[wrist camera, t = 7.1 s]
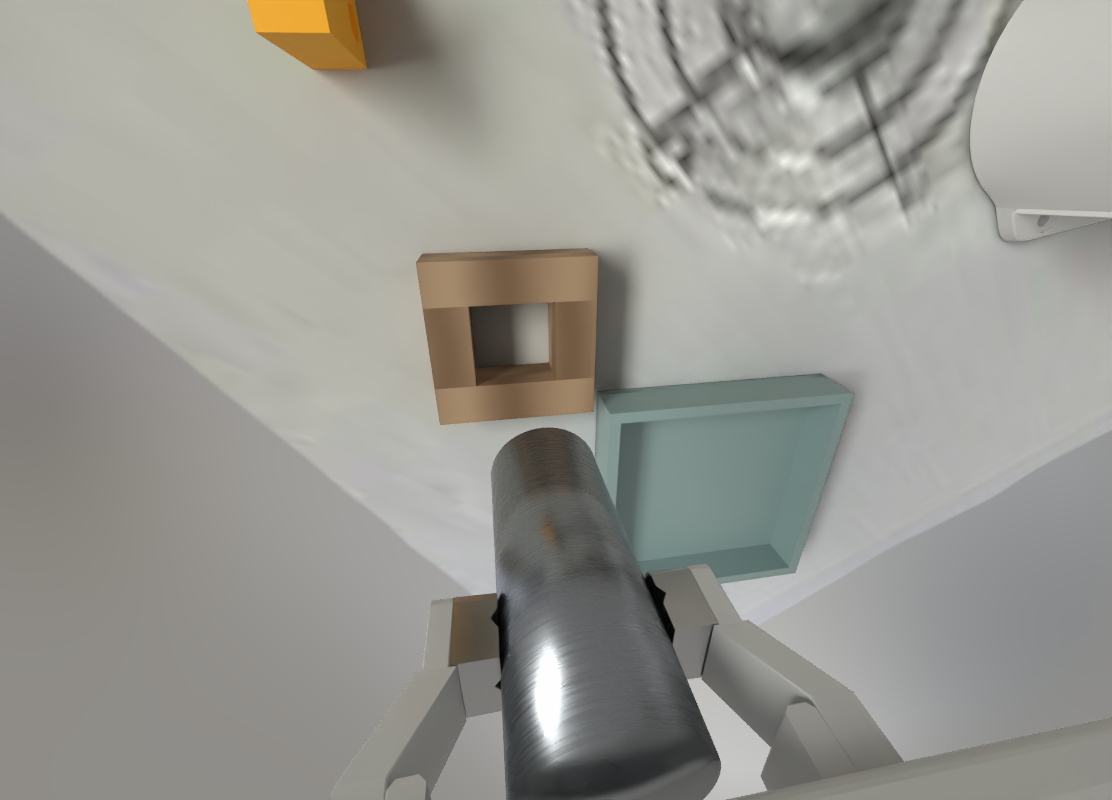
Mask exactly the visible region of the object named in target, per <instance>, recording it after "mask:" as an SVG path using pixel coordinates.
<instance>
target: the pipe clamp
mask: <svg viewBox="0 0 1112 800" xmlns="http://www.w3.org/2000/svg"><path fill="white" fill-rule="evenodd" d="M247 1H248V4H249V8H250V12H251V16H252V20H253V23H254V27H255V31H256V33H258V34H259V35H261V36H262V37H264V38H265V39H267V40H268V41H270V42H272V43H273V44H275V45H276V46H278V47H279V48H281V49H282V50H284V51H285V52H287V53H288V54H290V55H291V56H293V57H295V58H296V59H298V60H299V61H301V62H302V63H304V64H305V65H307V66H308V67H310V68H311V69H367V65H366V59H365V54H364V48H363V42H362V37H361V31H360V26H359V20H358V15H357V9H356V3H355V0H247Z"/></svg>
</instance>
